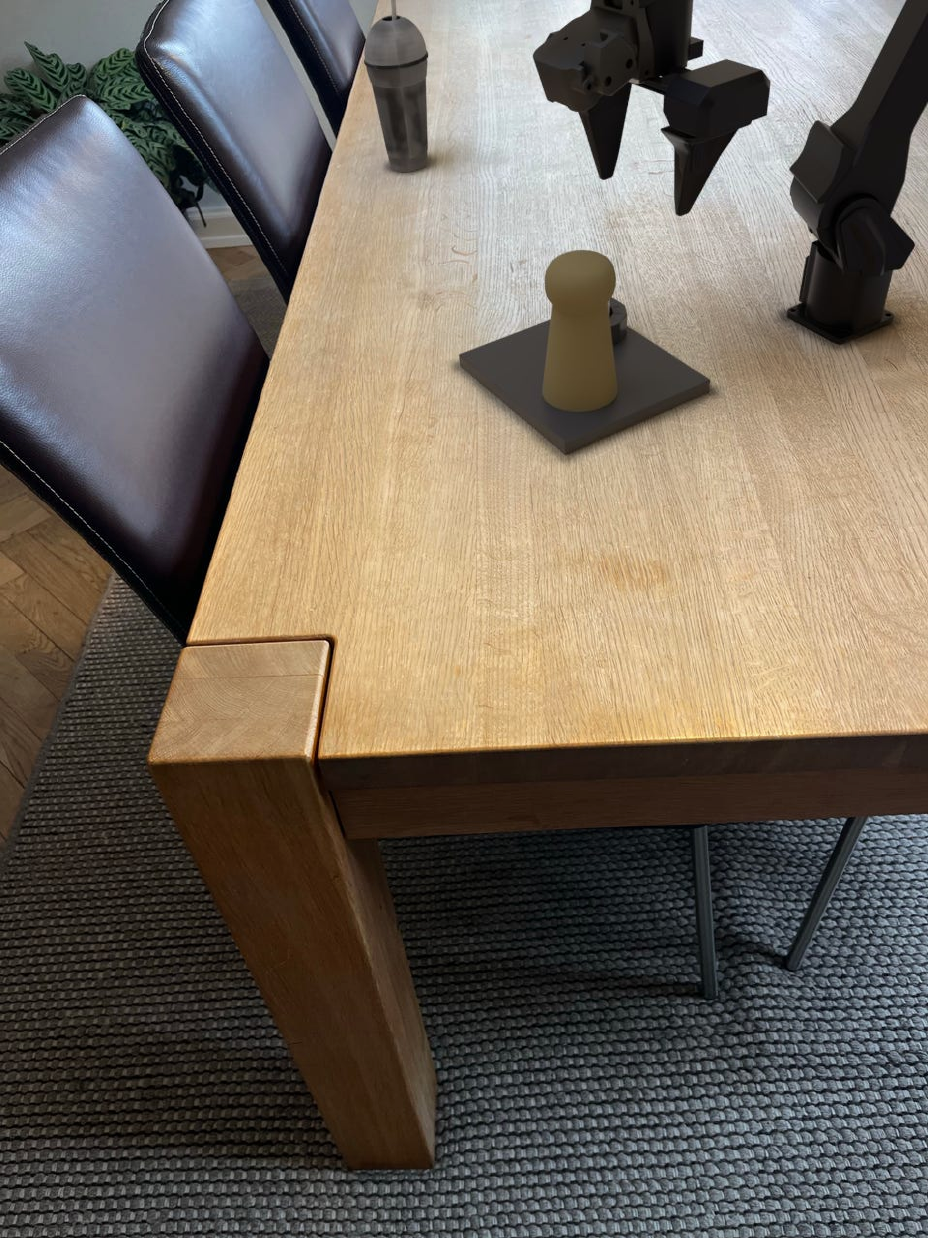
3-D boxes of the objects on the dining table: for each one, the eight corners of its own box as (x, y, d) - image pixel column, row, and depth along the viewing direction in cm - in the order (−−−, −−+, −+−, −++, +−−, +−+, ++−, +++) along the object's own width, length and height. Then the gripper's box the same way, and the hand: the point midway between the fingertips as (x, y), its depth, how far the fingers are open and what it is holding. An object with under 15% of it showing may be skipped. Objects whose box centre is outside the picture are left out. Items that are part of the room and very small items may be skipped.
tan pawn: (614, 413, 75) (618, 278, 67) (536, 410, 76) (531, 277, 68) (621, 371, 79) (626, 239, 71) (547, 368, 80) (544, 238, 72)
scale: (709, 392, 78) (713, 359, 76) (565, 455, 74) (564, 422, 71) (592, 314, 88) (592, 283, 86) (459, 366, 84) (456, 335, 82)
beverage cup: (367, 172, 116) (337, -24, 101) (398, 149, 120) (373, -42, 106) (420, 179, 113) (397, -21, 98) (450, 155, 117) (432, -40, 103)
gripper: (472, -38, 67) (489, 190, 78) (645, 11, 55) (636, 271, 66) (602, -73, 70) (601, 151, 81) (791, -33, 59) (759, 222, 70)
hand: (642, 195), depth 75 cm, fingers open, 9 cm apart
